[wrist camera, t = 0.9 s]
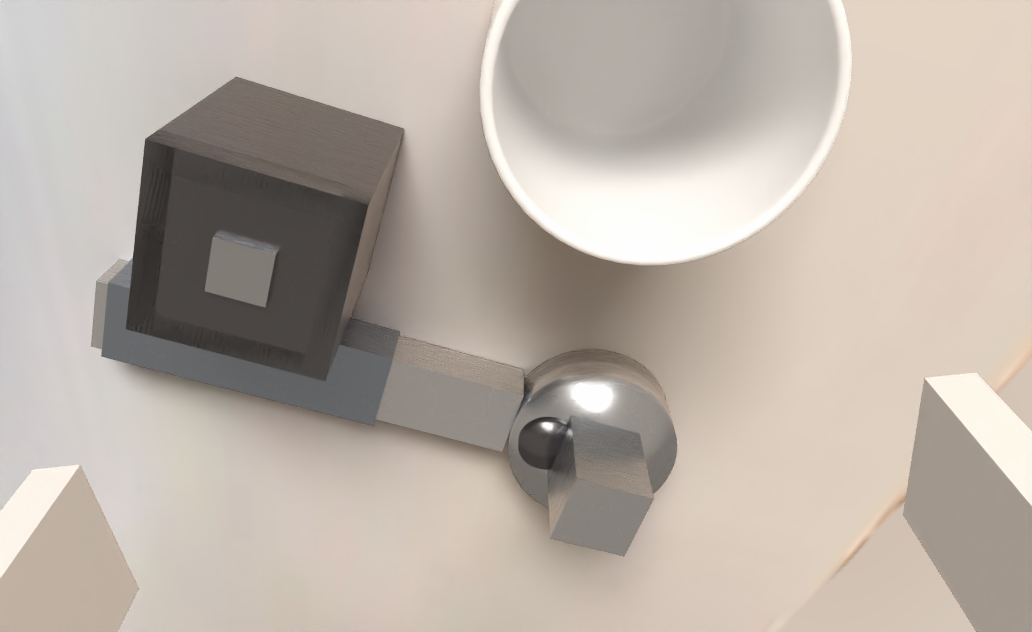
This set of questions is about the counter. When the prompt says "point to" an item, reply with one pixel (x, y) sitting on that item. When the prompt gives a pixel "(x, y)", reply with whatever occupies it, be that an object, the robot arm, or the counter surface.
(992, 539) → the robot arm
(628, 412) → the ratchet
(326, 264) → the socket
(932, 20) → the counter surface
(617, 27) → the mug
